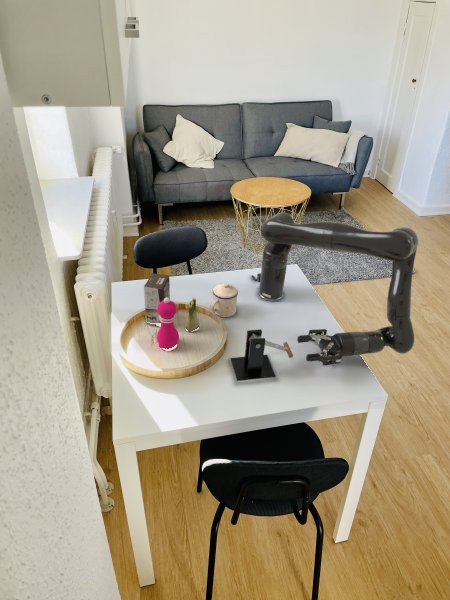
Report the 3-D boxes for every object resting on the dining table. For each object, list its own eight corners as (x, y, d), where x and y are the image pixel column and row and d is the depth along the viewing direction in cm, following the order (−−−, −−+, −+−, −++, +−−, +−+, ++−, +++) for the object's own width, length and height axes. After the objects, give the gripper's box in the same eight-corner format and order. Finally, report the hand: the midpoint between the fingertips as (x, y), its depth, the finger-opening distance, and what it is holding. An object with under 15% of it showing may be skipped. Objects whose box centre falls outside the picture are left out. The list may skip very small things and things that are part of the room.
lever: (285, 347, 143) (289, 341, 142) (290, 359, 139) (295, 353, 138) (247, 335, 137) (251, 329, 136) (252, 347, 133) (256, 341, 132)
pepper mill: (182, 344, 151) (182, 294, 139) (173, 357, 145) (172, 307, 134) (163, 338, 153) (161, 289, 141) (153, 351, 147) (150, 301, 135)
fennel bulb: (192, 323, 160) (193, 295, 153) (203, 329, 158) (204, 301, 151) (181, 331, 156) (181, 302, 149) (191, 337, 154) (192, 308, 147)
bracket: (266, 357, 147) (271, 323, 139) (275, 379, 139) (280, 344, 131) (230, 361, 145) (232, 326, 137) (236, 383, 137) (240, 348, 129)
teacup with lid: (222, 300, 172) (223, 274, 166) (241, 310, 168) (243, 283, 161) (201, 314, 165) (202, 287, 158) (220, 325, 160) (222, 298, 153)
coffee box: (163, 328, 157) (161, 289, 148) (145, 325, 158) (142, 286, 149) (171, 312, 165) (170, 274, 155) (154, 309, 165) (152, 272, 156)
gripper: (344, 320, 147) (296, 324, 144) (363, 349, 136) (311, 354, 133) (339, 338, 152) (293, 342, 149) (357, 368, 140) (307, 373, 137)
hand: (302, 348), depth 141 cm, fingers open, 8 cm apart
